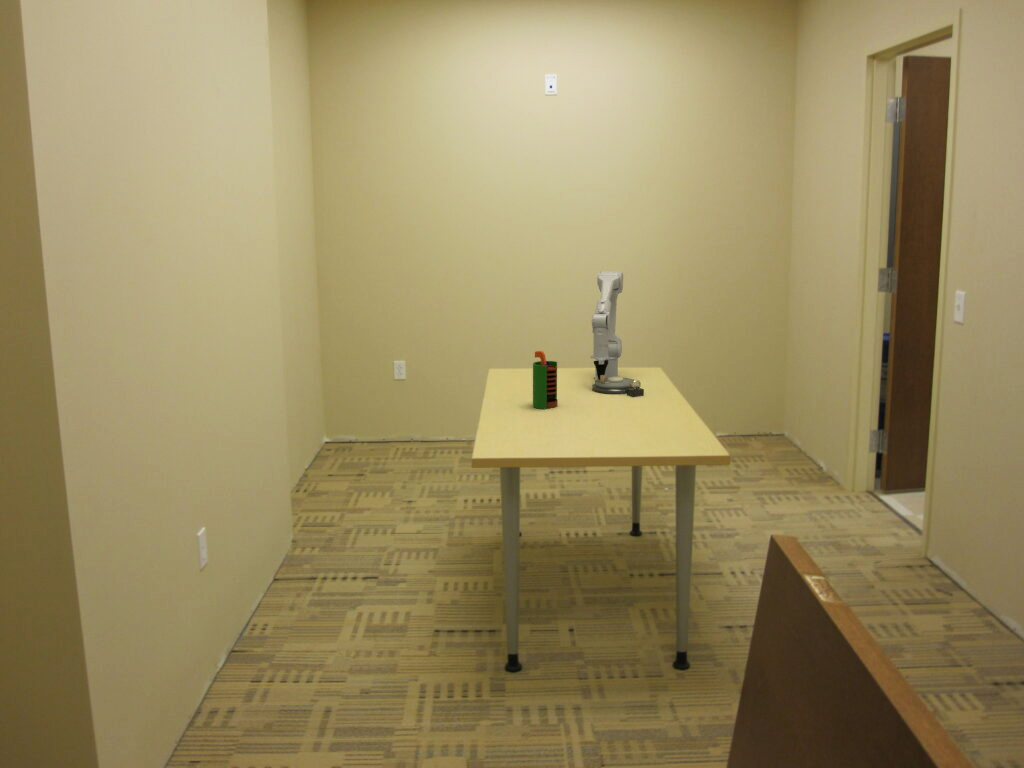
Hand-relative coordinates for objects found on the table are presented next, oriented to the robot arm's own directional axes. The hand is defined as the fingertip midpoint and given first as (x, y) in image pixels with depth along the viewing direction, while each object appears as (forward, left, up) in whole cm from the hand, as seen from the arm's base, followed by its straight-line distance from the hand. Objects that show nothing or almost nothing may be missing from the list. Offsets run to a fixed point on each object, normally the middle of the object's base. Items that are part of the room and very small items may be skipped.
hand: (600, 379), depth 349 cm
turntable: (+3, +5, -2) cm, 6 cm away
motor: (+12, -32, -4) cm, 35 cm away
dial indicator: (+16, +5, -4) cm, 17 cm away
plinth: (+3, +5, -4) cm, 7 cm away
